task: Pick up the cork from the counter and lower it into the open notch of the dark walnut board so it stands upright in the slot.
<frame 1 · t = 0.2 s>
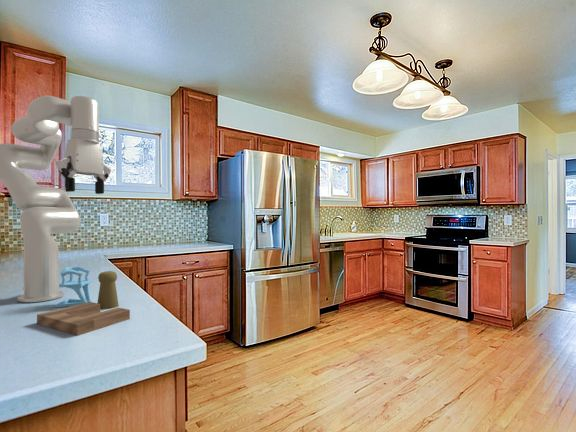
hand: (85, 192, 101), 36 cm above the worktop, tool pointing down, fingers open, 9 cm apart
notched board: (84, 321, 87), on the worktop
cork: (107, 307, 102), on the worktop
chair: (75, 304, 104), on the worktop
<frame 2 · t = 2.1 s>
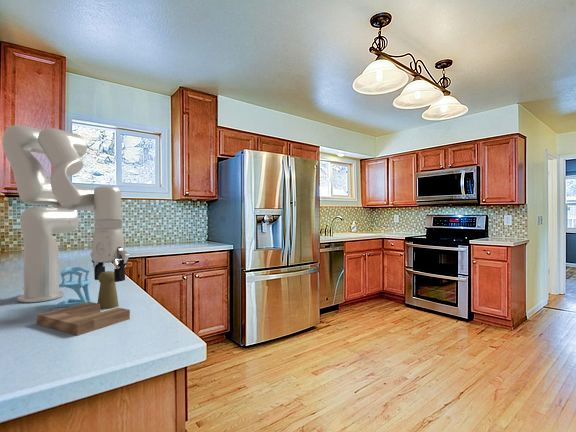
hand: (109, 280, 101), 8 cm above the worktop, tool pointing down, fingers open, 9 cm apart
nothing on the worktop moved.
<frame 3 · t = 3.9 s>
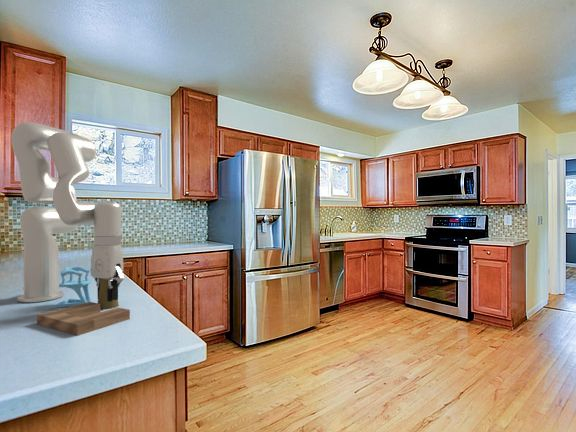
hand: (107, 299, 102), 2 cm above the worktop, tool pointing down, fingers closed on cork, 4 cm apart
cork: (107, 307, 102), on the worktop, touching gripper
everything else where it was.
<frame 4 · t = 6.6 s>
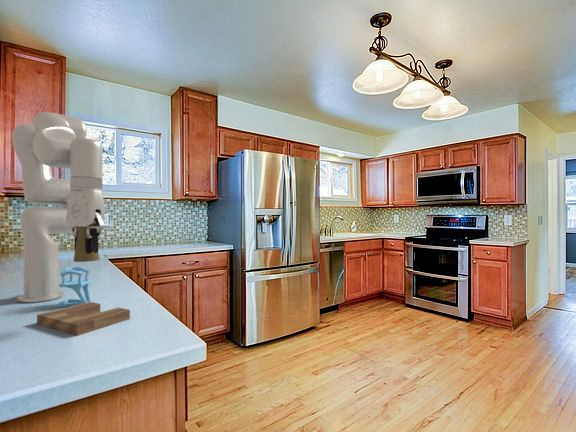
hand: (86, 251, 88), 19 cm above the worktop, tool pointing down, fingers closed on cork, 4 cm apart
cork: (86, 261, 88), point 16 cm above the worktop, touching gripper
everything else where it was.
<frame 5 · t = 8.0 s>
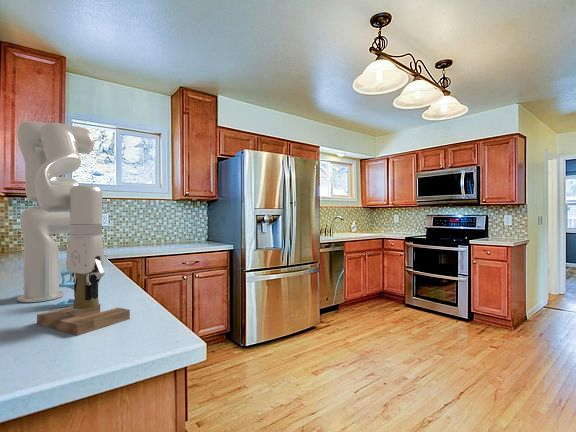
hand: (86, 297, 88), 6 cm above the worktop, tool pointing down, fingers closed on cork, 4 cm apart
cork: (86, 306, 88), point 4 cm above the worktop, touching gripper
everything else where it was.
when the fingers open (4 cm above the worktop, at t = 9.3 s): cork drops 1 cm, resting in notched board.
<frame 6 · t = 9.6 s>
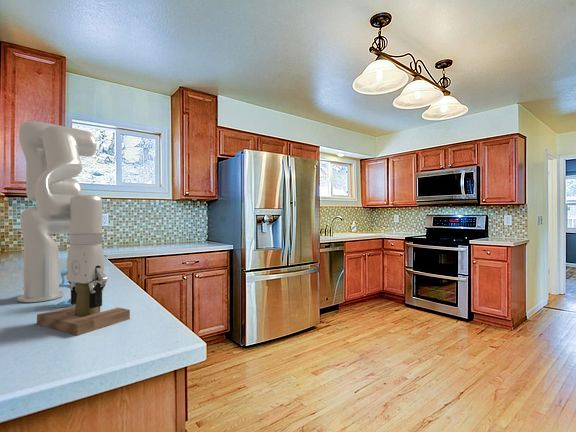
hand: (86, 304, 88), 4 cm above the worktop, tool pointing down, fingers open, 7 cm apart
cork: (86, 321, 88), resting in notched board
everything else where it was.
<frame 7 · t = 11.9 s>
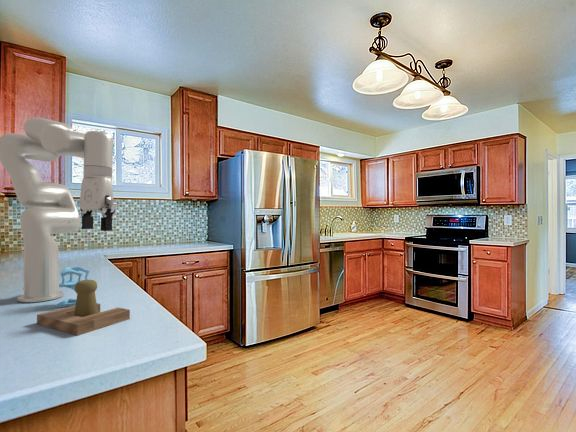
hand: (96, 229, 98), 24 cm above the worktop, tool pointing down, fingers open, 9 cm apart
nothing on the worktop moved.
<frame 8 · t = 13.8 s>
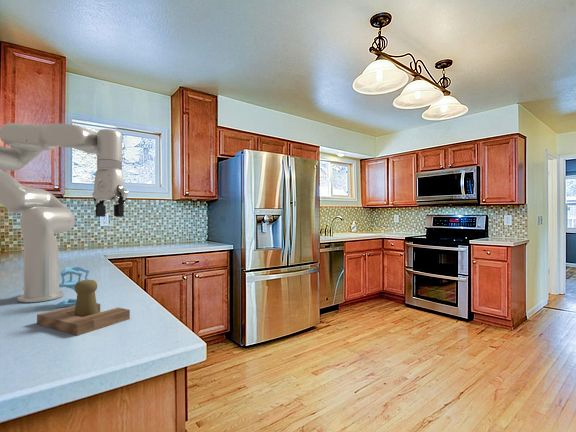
hand: (109, 216, 111), 28 cm above the worktop, tool pointing down, fingers open, 9 cm apart
nothing on the worktop moved.
at the end: cork 0.8 cm from the target spot on the notched board, point 0.0 cm above the notched board's base; cork tilted 0°; the gripper is holding nothing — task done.
